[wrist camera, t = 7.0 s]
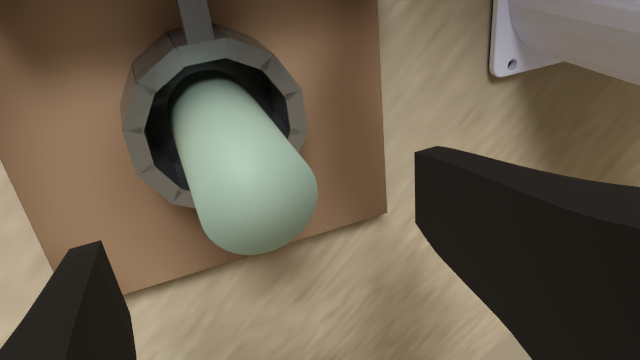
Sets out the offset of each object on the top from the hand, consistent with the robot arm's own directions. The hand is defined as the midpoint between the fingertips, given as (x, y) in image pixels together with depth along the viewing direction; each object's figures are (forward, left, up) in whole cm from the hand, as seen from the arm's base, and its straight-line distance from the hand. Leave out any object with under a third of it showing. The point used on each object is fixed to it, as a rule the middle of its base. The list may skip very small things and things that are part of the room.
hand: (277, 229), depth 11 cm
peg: (0, 0, -8) cm, 8 cm away
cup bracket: (0, 0, -10) cm, 10 cm away
